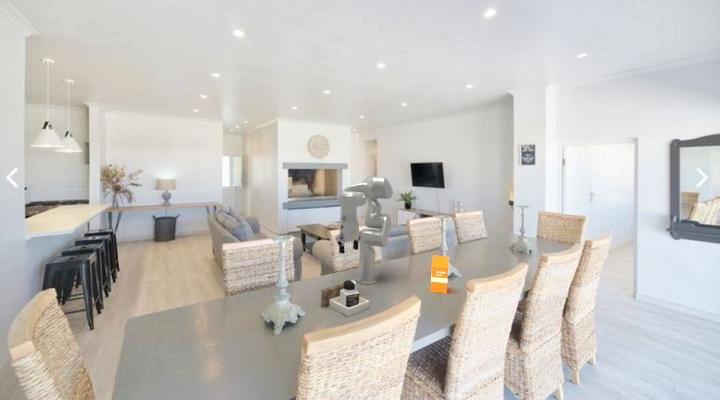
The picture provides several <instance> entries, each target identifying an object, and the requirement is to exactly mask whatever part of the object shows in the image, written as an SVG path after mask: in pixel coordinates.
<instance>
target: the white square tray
mask: <svg viewBox="0 0 720 400" xmlns="http://www.w3.org/2000/svg"><path fill="white" fill-rule="evenodd" d="M370 303H371V301H370V300H367V299H366V298H363V297H361V296H359V304H358V305H355V306H352V307H350V308H348V307H345V306H343V305H341V304H340V296H339V297H336V298H332V299H329V306H328V307H329V308H331V309H332V310H334V311H337V312H338V313H340V314H342V315H344V316H346V317H350V316H351V317H352V316H353V315H356V314H359V313H362V312H364V311H365V310H368V309H370V306H371V305H370Z"/></svg>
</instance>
